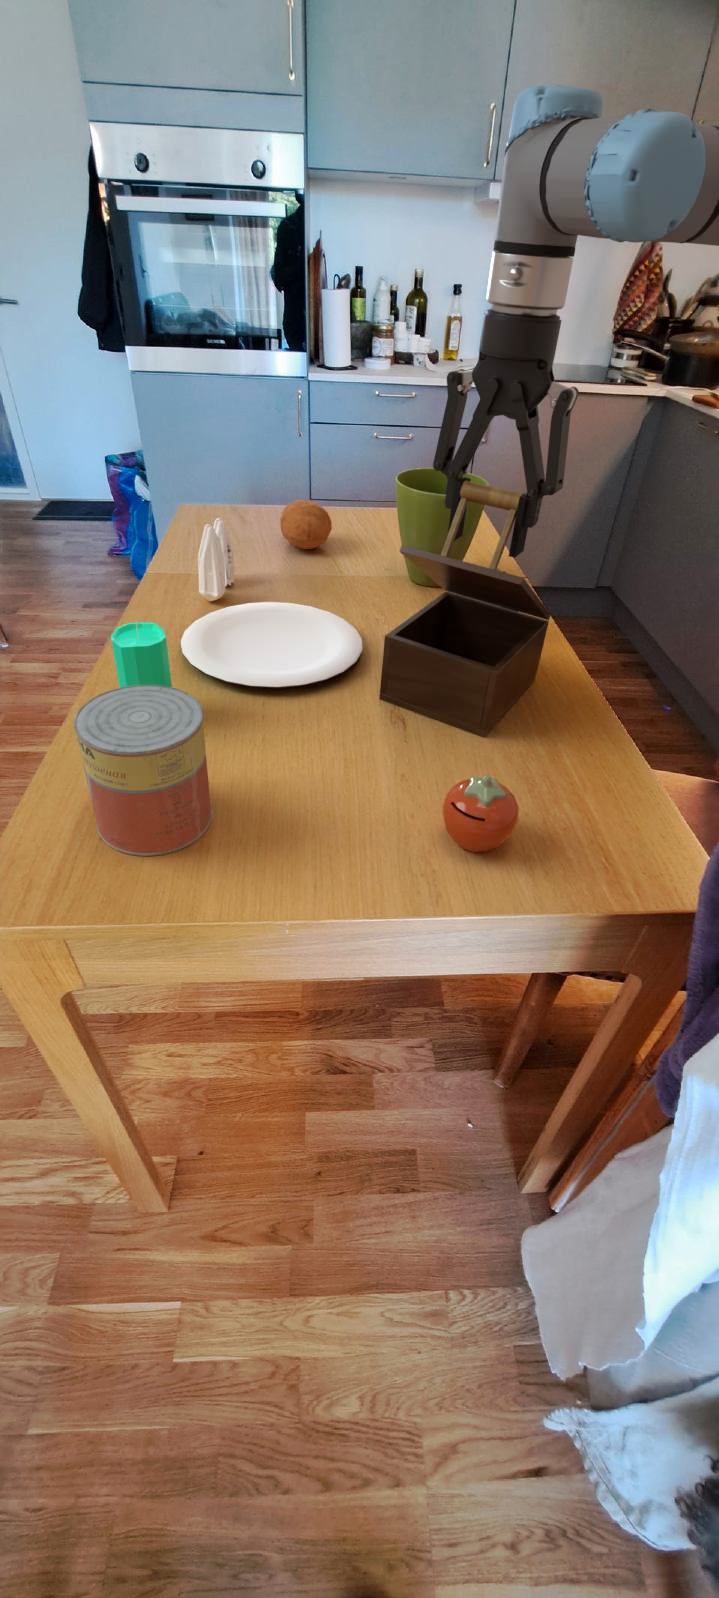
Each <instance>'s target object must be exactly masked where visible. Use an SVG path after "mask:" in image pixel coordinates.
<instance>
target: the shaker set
mask: <svg viewBox="0 0 719 1598" xmlns="http://www.w3.org/2000/svg"><path fill="white" fill-rule="evenodd" d="M203 528H204V529H203V532H202V536H201V540H200V545H199V549H198V553H197V570H198V571H197V572H198V573H197V575H198V593H199V595H201V596H202V597H203V598H204V599H205V600H207V602H213V601H216V600H219V599H221V598H222V597H223V596H224V594H225V593H226V587H228V585H229V586H232V584H235V561H234V548H233V545H232V541H231V538H230V535H229V532H228V529H227V527H226V524H225V522H224V521H223V520H222V519H221V518H219V517H218V518H215V520H214V522H213V526H212V525H211V524H210V523H207V524H205V525H204V527H203Z"/></svg>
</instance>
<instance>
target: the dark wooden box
mask: <svg viewBox="0 0 719 1598" xmlns="http://www.w3.org/2000/svg"><path fill="white" fill-rule="evenodd" d="M549 622H550V621H549V620H546V619H542V618H539V617H535V616H532V615H528V614H525V613H521V612H516V611H513V610H509V609H506V608H502V607H499V606H495V605H492V604H489V603H485V602H482V601H478V600H475V599H471V598H468V597H464V596H461V595H457V594H456V593H452V592H449V591H444V592H443V593H441V594H440V595H438V596H437V597H436V598H435V599H433V600H432V601H431V602H429V603H428V604H426V605H425V606H423V607H422V608H421V609H420V610H418V611H417V612H415V613H414V614H412V615H411V616H410V617H408V618H407V619H406V620H404V621H403V622H402V623H400V624H399V625H397V626H396V627H395V628H393V629H392V630H390V631H389V632H388V633H386V634H385V635H384V640H383V652H382V662H381V663H382V664H381V675H380V687H379V700H382V701H384V702H385V703H389V704H392V705H394V706H397V707H400V708H403V709H406V710H408V711H412V712H414V713H415V714H416V713H417V714H419V715H422V716H425V717H428V718H430V719H433V720H436V721H438V722H441V723H444V724H446V725H450V726H452V727H455V728H458V729H460V730H463V731H466V732H469V733H471V734H474V735H477V736H479V737H483V738H486V737H487V736H488V735H489V733H491V731H492V730H493V729H494V728H495V727H496V726H497V725H498V724H499V722H500V721H501V720H502V719H503V718H504V717H505V715H506V714H508V712H509V711H510V710H511V709H512V708H513V707H514V705H515V704H516V703H517V702H518V701H520V699H521V697H522V696H523V695H524V694H525V693H526V692H527V691H528V690H529V689H530V688H531V687H532V685H533V684H534V683H535V682H536V679H537V675H538V674H537V673H538V669H539V666H540V661H541V656H542V652H543V648H544V643H545V639H546V635H547V632H548V627H549Z"/></svg>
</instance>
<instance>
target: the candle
mask: <svg viewBox="0 0 719 1598" xmlns="http://www.w3.org/2000/svg"><path fill="white" fill-rule="evenodd" d="M110 640H111V645H112V652H113V659H114V662H115V669H116V675H117V680H118V688H122V687H127V686H134V685H161V686H167V687H172V688H173V685H172V676H171V668H170V660H169V651H168V644H167V643H168V642H167V636H166V632H165V629H164V628H162V626H160V625H158V624H157V623H156V622H147V621H146V622H145V621H142V622H141V621H140V622H138V621H136V620H135V622H127V623H125V624H122V625H120V626H118V627H116V628H115V630H114V631H113V632H112V634H111V636H110Z"/></svg>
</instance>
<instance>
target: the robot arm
mask: <svg viewBox="0 0 719 1598" xmlns="http://www.w3.org/2000/svg"><path fill="white" fill-rule="evenodd" d="M603 103H604V102H603V98H602V95H601V94H600V93H599V92H598V91H596V90H595V89H592V88H588V87H582V86H574V85H560V84H558V85H557V84H552V85H545V86H544V85H535V86H530V87H527V88H525V89H524V90H522V91H521V92H520V93H519V95H518V96H517V97H516V100H515V102H514V105H513V110H512V115H511V121H510V126H509V127H510V128H509V133H508V139H507V142H506V144H505V145H504V146H505V148H504V150H503V151H504V152H503V155H504V160H503V166H502V167H503V168H502V175H501V184H500V191H499V199H498V200H499V201H498V207H497V215H496V222H495V223H496V224H495V231H494V239H493V241H494V243H493V251H492V255H491V256H492V257H491V262H490V268H489V269H490V270H489V275H488V276H489V277H488V282H487V283H488V284H487V289H486V297H485V300H486V301H487V302H488V303H489V304H491V307H490V308H489V309H487V310H486V312H484V313H483V319H482V326H481V333H480V341H479V346H478V351H479V352H478V358H477V361H476V363H475V365H474V366H473V368H472V369H468V370H467V369H463V368H460V369H456V370H452V371H450V372H448V373H447V375H446V390H447V399H446V403H445V408H444V413H443V417H442V422H441V426H440V431H439V435H438V440H437V445H436V448H435V454H434V458H433V462H432V468H434V469H435V470H436V471H440V472H442V473H443V474H445V475H446V477H447V489H446V498H445V507H446V508H448V509H451V513H450V521H449V529H448V533H449V530H450V527H451V525H452V522H453V519H454V516H455V513H456V510H457V508H458V505H459V502H460V499H461V498H460V489H461V486H462V484H463V482H464V481H470V480H471V479H470V478H466V477H464V478H463V475H464V474H466V473H468V471H467V469H468V468H469V465H470V464H471V462H472V460H473V458H474V456H475V454H476V453H477V450H478V448H479V446H480V444H481V441H482V440H483V438H484V435H485V434H486V432H487V430H488V428H489V426H490V424H491V422H492V420H493V419H494V418H495V417H498V416H499V417H500V416H504V417H505V418H508V419H510V420H515V427H516V430H517V431H518V435H519V436H518V437H519V442H520V449H521V456H522V465H523V471H524V472H523V473H524V479H525V487H526V492H525V493H524V494H523V495H522V496H520V497H519V503H518V508H517V513H516V518H515V520H514V523H513V529H512V536H511V541H510V547H509V552H508V557H509V558H513V559H515V558H516V557H518V556H519V555H521V553H523V552H524V549H525V545H526V541H527V540H526V539H527V534H528V531H529V529H531V528H533V527H535V526H536V525H537V523H538V521H539V519H540V518H539V517H540V512H541V508H542V503H543V498H544V496H545V497H546V496H553V495H555V494H556V493H557V492H559V491H560V490H562V488H563V487H564V481H565V472H566V463H567V452H568V443H569V433H570V422H571V414H572V412H573V409H574V407H575V405H576V402H577V400H578V397H579V394H580V391H579V389H578V387H577V386H570V387H568V386H565V385H564V384H561V383H559V382H557V381H555V375H554V370H553V366H554V361H555V357H556V351H557V347H558V341H559V335H560V331H561V325H562V322H563V321H562V319H561V316H560V315H558V310H562V309H563V308H564V307H565V306H566V299H567V294H568V288H569V285H570V278H571V274H572V267H573V262H574V257H575V254H576V245H577V240H578V236H580V237H581V236H583V237H588V238H589V237H590V238H597V239H606V240H607V239H608V240H611V241H613V242H617V243H624V242H628V243H643V242H652V243H653V242H654V243H656V242H657V243H674V244H695V245H706V246H714V247H715V246H716V247H717V246H718V247H719V126H718V125H713V124H704V123H698V122H693V120H692V118H691V117H689V116H688V115H686V114H684V113H681V112H677V111H668V110H667V111H666V110H665V111H664V110H654V109H651V108H649V109H640V110H637V111H636V112H635V113H629V114H628V113H627V114H620V115H612V116H603V117H602V113H603V112H602V111H603ZM473 384H474V386H475V390H476V391H477V395H478V398H479V401H478V403H477V405H476V407H475V410H474V412H473V414H472V419H471V422H470V423H469V425H468V428H467V429H466V432H465V434H464V435H463V438H462V439H461V442H460V444H459V446H458V449H457V450H456V448H457V447H456V446H457V442H458V438H459V434H460V429H461V426H462V421H463V418H464V417H463V416H464V413H465V408H466V406H467V405H466V404H467V400H468V393H470V391H471V389H472V385H473ZM547 395H549V397H550V404H549V405H550V408H551V409H552V413H551V417H550V418H551V419H550V428H549V439H548V447H547V448H548V449H547V459H546V471H545V469H544V461H543V460H544V459H543V453H542V452H543V451H542V444H541V438H540V430H539V423H540V416H539V404H540V403H541V402H542V401H543V400H544V399H545V398H546V397H547ZM455 451H456V452H455ZM454 454H455V455H454ZM466 508H467V505H466ZM466 508H465V511H464V514H463V516H462V519H461V522H460V525H459V528H458V530H457V533H456V536H455V539H454V541H455V540H457V539H458V538H460V537H461V536H462V535H463V528H464V521H465V514H466Z"/></svg>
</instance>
